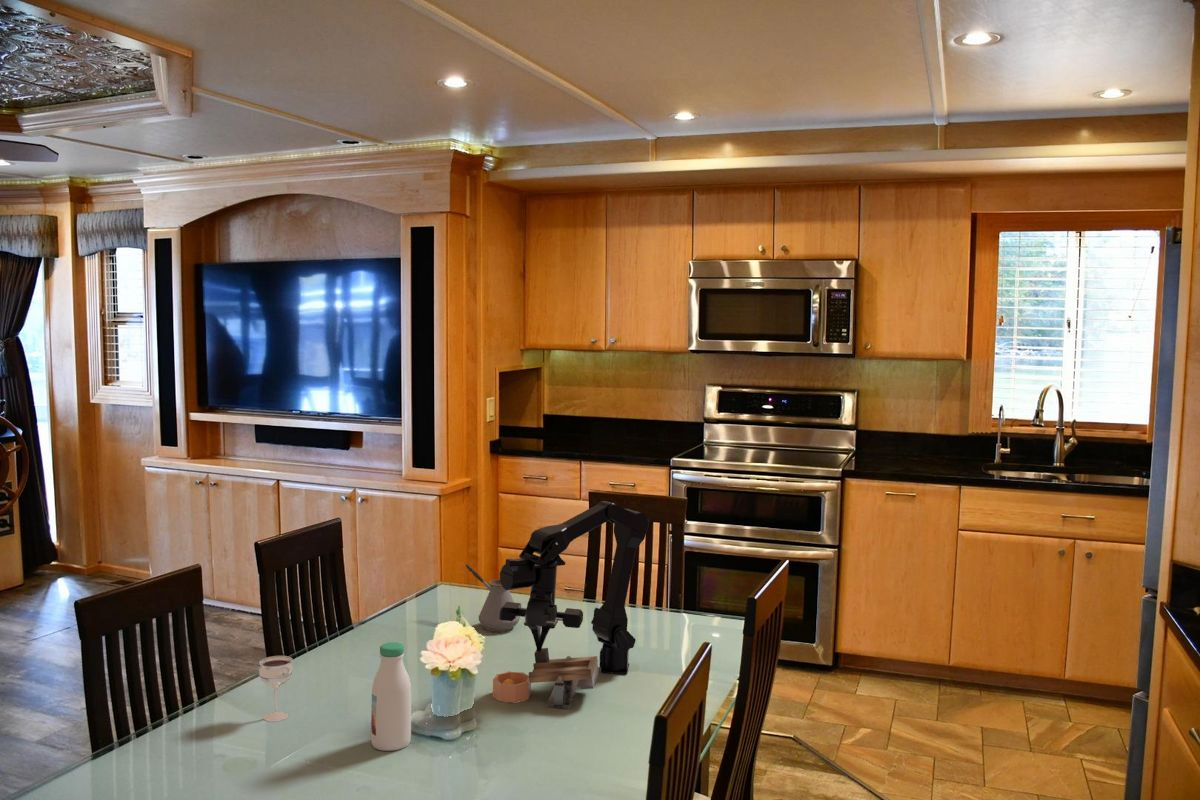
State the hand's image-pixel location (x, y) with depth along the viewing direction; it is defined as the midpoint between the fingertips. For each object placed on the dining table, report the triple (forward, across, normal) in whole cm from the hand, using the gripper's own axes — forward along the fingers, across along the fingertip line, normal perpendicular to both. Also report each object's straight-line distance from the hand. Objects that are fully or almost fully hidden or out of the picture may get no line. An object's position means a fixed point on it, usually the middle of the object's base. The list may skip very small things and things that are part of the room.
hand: (539, 650), depth 212 cm
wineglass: (+11, -51, -26) cm, 58 cm away
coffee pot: (+10, -22, +44) cm, 50 cm away
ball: (+7, -6, -6) cm, 10 cm away
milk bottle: (+10, -23, -33) cm, 42 cm away
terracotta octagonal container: (+9, -5, -6) cm, 12 cm away
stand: (+8, +7, -3) cm, 11 cm away
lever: (+5, +7, -3) cm, 9 cm away
